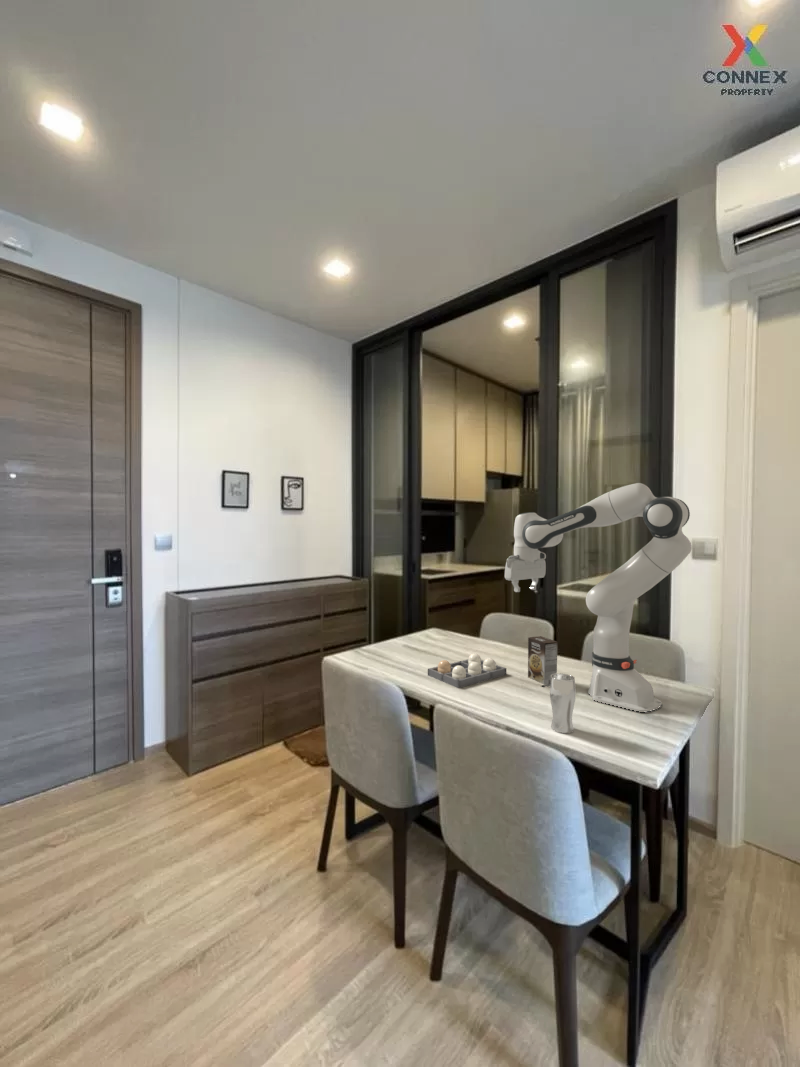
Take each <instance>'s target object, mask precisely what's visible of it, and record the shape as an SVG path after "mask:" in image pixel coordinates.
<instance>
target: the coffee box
mask: <svg viewBox="0 0 800 1067" xmlns="http://www.w3.org/2000/svg"><path fill="white" fill-rule="evenodd" d="M527 638H528V639H527V646H528V647H527V668H528V669H527V678H529V679H531V680H532V681H535V682H538V684H539V683H540V684H542V687H543V686H544V687H543V688H546V687H545V686H547V687H550V680H551V675H552V674H555V673H558V641H556V640H554V639H550V638H549V637H548V638H547V637H545V636H529V637H527Z"/></svg>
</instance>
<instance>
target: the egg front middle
mask: <svg viewBox="0 0 800 1067" xmlns="http://www.w3.org/2000/svg"><path fill="white" fill-rule="evenodd" d="M468 673H469V674H472V675H478V674H481V665H480V664H479V663H478V662H471V663H470V664H469V666H468Z"/></svg>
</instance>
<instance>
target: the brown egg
mask: <svg viewBox="0 0 800 1067" xmlns="http://www.w3.org/2000/svg"><path fill="white" fill-rule="evenodd" d="M450 663H451V662H449V661H448V660H445V659H442V660H440V661H439V662H438V664H437V666H438V672H440V673H443V674H445V673H449V672H451V664H450Z"/></svg>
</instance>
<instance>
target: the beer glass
mask: <svg viewBox="0 0 800 1067" xmlns="http://www.w3.org/2000/svg"><path fill="white" fill-rule="evenodd" d="M576 692H577V691H576V678H575V676H573V675H571V674H568V673H559V672H557V673H555V674H552V675H551V680H550V686H549V698H550V704H551V705H550V706H551V712H552V718H551V725H550V728H551V730H552V731H554V730H555V731H554V732H556V731H557V733H559V732H562V733H561V734H571V733H570V732H572V731H573V732H574V724H573V713H574V708H575V702H576V694H577V693H576ZM573 732H572V733H573Z"/></svg>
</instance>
